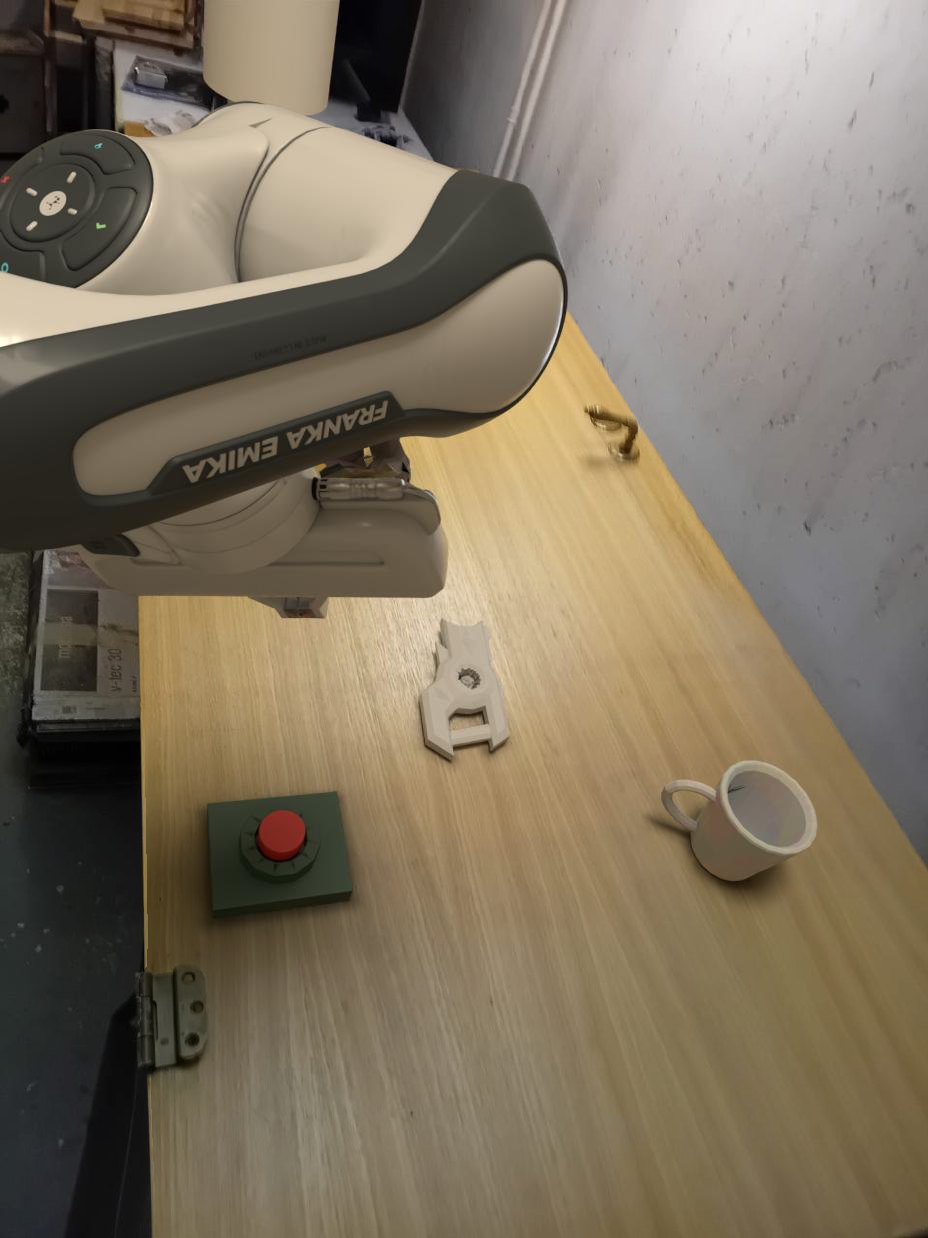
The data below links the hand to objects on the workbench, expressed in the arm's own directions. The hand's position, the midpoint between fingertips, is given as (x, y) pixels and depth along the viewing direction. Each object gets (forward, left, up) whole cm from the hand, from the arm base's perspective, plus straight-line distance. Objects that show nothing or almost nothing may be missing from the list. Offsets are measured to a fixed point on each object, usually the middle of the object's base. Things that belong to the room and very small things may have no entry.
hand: (306, 608), depth 53 cm
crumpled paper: (+14, +50, -32) cm, 62 cm away
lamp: (+10, +125, -32) cm, 130 cm away
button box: (+1, -3, -32) cm, 32 cm away
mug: (+46, -7, -32) cm, 56 cm away
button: (+1, -3, -29) cm, 29 cm away
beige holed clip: (+23, +14, -32) cm, 42 cm away
